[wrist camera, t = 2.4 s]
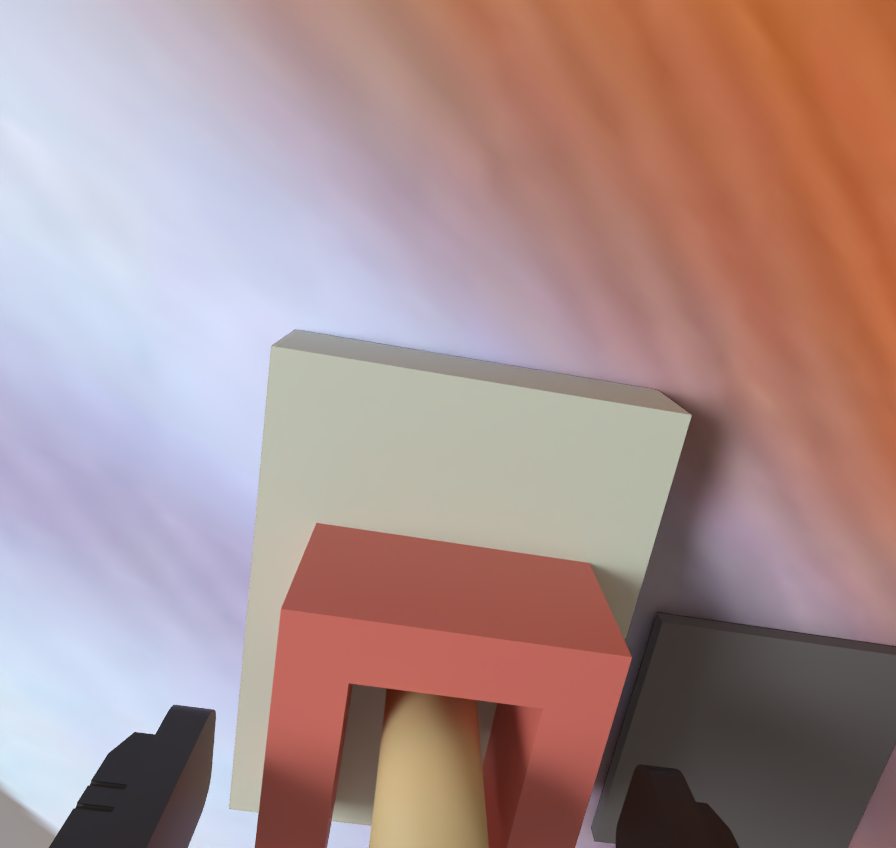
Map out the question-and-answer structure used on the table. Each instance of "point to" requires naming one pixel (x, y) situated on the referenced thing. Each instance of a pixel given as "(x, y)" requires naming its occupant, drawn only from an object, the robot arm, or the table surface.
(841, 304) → the table surface
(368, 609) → the c link
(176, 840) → the robot arm
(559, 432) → the stand
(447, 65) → the table surface
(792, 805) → the coaster
